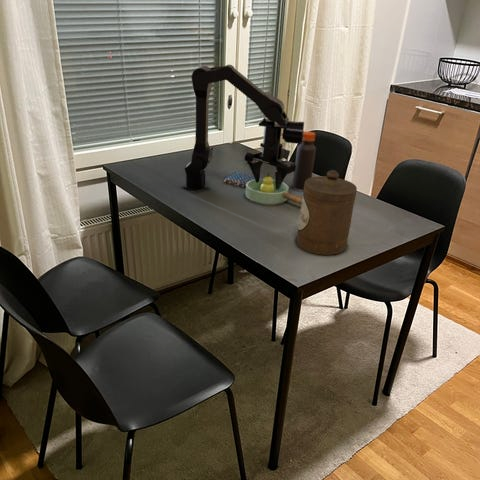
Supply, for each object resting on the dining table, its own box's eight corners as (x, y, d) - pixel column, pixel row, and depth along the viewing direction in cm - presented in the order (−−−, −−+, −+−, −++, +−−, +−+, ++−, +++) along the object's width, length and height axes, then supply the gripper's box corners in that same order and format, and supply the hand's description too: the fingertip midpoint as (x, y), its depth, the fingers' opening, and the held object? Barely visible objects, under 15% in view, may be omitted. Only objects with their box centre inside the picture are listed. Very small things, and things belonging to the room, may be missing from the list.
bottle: (301, 192, 181) (308, 136, 170) (288, 186, 185) (295, 131, 174) (313, 189, 185) (322, 134, 173) (300, 183, 189) (308, 129, 178)
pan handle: (309, 208, 163) (310, 203, 162) (281, 198, 169) (282, 192, 168) (313, 207, 164) (314, 201, 163) (285, 196, 170) (285, 191, 169)
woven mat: (246, 189, 180) (247, 184, 179) (222, 183, 184) (222, 177, 183) (259, 181, 188) (260, 176, 187) (235, 175, 192) (236, 170, 191)
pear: (267, 199, 172) (269, 176, 167) (256, 195, 174) (258, 172, 170) (276, 196, 175) (278, 173, 170) (265, 192, 177) (267, 169, 173)
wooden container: (303, 229, 154) (314, 159, 141) (350, 239, 150) (365, 168, 138) (290, 248, 143) (300, 174, 130) (340, 260, 139) (355, 184, 126)
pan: (268, 208, 166) (270, 197, 164) (236, 195, 174) (237, 184, 172) (295, 198, 176) (297, 187, 173) (264, 186, 184) (265, 175, 181)
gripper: (308, 143, 164) (302, 188, 173) (266, 130, 174) (262, 174, 183) (287, 148, 157) (282, 195, 166) (244, 135, 167) (241, 180, 176)
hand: (267, 186), depth 173 cm, fingers open, 9 cm apart
